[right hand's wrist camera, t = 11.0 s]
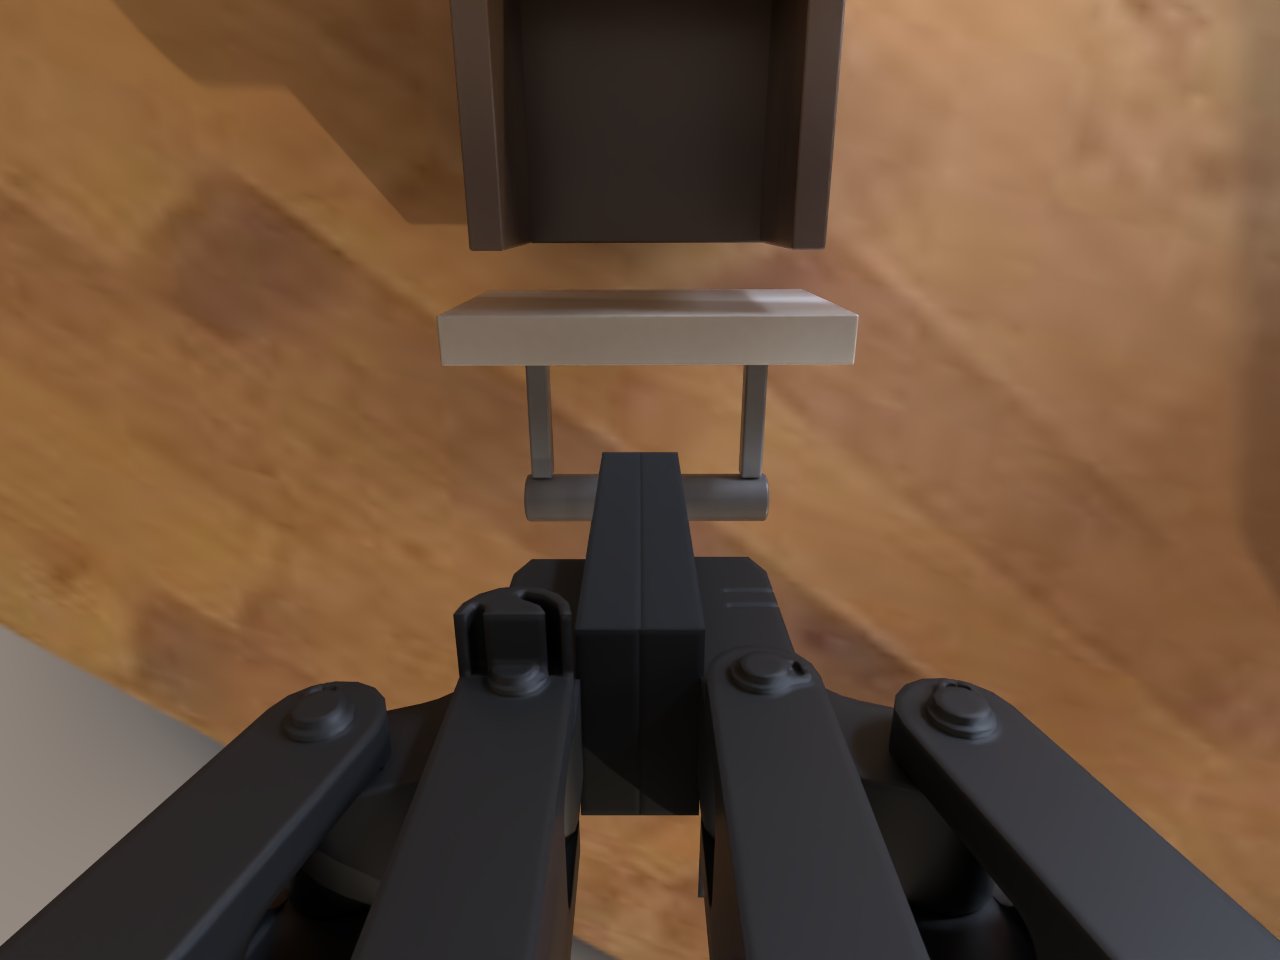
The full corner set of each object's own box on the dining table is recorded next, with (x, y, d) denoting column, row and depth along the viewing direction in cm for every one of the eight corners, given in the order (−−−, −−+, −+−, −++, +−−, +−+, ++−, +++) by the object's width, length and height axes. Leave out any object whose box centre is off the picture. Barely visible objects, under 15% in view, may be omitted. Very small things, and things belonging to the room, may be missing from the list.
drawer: (789, 478, 25) (835, 558, 19) (502, 479, 25) (460, 559, 19) (864, -547, 17) (987, -968, 11) (427, -545, 17) (309, -962, 11)
